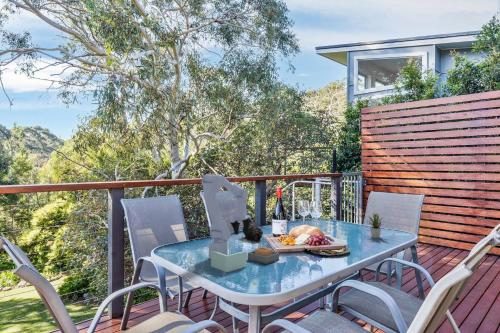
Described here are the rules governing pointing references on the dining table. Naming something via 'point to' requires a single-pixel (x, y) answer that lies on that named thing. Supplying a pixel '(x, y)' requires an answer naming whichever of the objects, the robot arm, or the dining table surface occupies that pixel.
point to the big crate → (263, 257)
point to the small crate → (263, 251)
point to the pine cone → (253, 233)
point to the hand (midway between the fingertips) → (241, 233)
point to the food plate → (332, 251)
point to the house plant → (375, 226)
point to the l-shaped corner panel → (228, 261)
